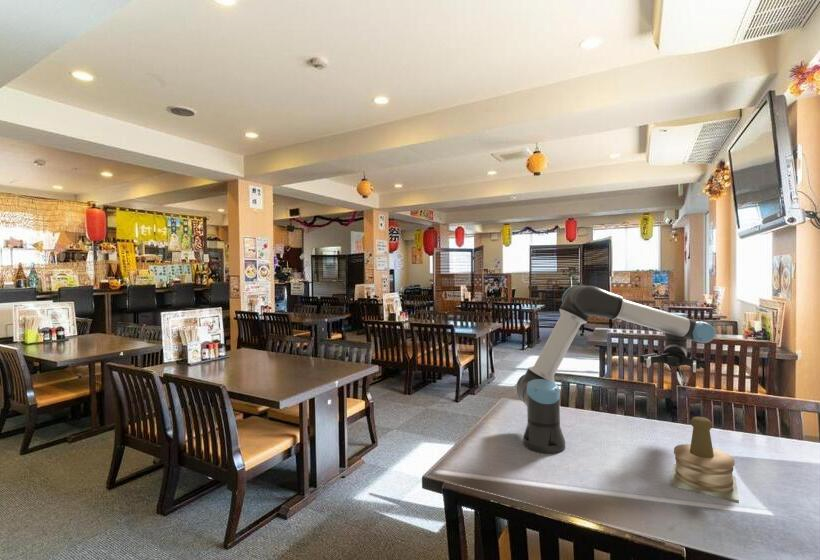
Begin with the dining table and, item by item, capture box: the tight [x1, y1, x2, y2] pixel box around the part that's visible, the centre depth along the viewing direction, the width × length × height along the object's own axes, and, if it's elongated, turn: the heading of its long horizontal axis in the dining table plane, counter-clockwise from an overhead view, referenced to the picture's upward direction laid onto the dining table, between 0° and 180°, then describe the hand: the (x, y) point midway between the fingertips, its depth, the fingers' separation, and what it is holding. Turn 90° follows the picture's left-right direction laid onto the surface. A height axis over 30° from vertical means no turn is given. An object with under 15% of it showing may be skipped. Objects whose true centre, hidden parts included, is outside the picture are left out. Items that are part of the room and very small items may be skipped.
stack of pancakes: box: [670, 443, 740, 503], centre depth 125 cm, size 16×16×9 cm
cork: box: [690, 416, 714, 458], centre depth 125 cm, size 6×6×11 cm
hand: (670, 366), depth 141 cm, fingers open, 13 cm apart
